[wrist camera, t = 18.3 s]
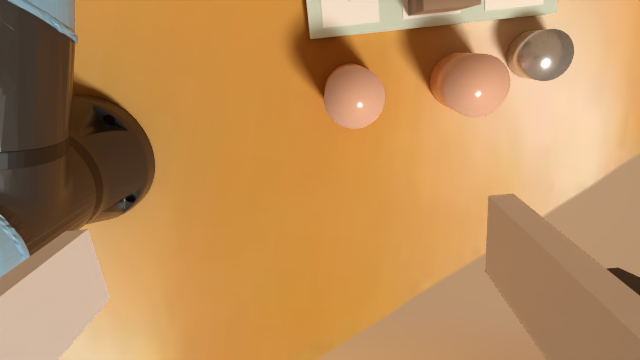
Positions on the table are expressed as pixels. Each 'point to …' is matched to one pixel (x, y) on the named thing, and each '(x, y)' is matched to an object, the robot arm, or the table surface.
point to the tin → (540, 54)
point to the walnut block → (438, 6)
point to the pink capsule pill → (470, 83)
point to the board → (392, 14)
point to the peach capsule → (353, 96)
